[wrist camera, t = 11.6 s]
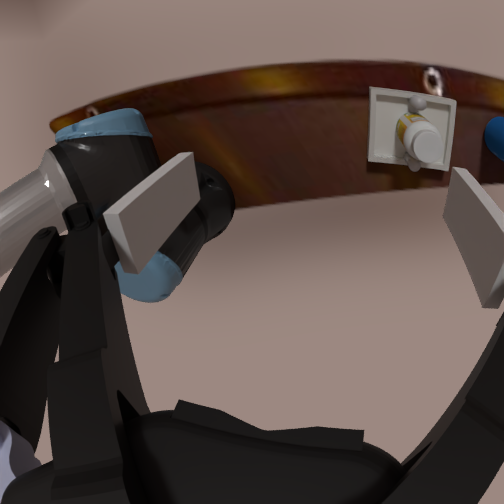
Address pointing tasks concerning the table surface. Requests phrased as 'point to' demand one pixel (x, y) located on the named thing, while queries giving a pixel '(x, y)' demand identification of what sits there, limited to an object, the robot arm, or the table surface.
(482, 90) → the table surface
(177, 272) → the robot arm
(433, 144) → the supplement bottle
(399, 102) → the tray
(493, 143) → the beverage can
